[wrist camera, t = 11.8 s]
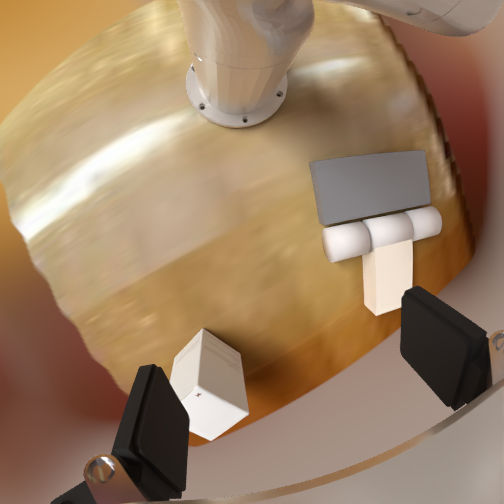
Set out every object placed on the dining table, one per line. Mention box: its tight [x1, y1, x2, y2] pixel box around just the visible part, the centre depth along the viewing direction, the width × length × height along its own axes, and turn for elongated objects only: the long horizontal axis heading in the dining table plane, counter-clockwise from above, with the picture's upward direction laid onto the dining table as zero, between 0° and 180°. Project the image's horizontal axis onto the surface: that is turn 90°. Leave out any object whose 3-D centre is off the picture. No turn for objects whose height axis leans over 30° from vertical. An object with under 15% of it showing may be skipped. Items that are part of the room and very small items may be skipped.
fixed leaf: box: [309, 150, 442, 263], centre depth 34 cm, size 13×18×4 cm
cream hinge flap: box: [362, 213, 414, 316], centre depth 36 cm, size 13×6×4 cm, turn 11°
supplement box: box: [170, 328, 249, 441], centre depth 33 cm, size 7×7×13 cm
